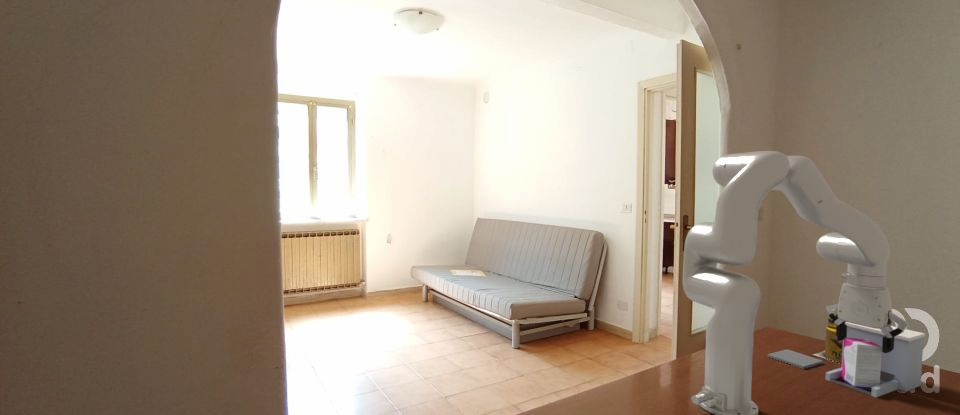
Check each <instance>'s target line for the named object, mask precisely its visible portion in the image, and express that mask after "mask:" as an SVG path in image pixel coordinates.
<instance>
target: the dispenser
mask: <svg viewBox="0 0 960 415" xmlns="http://www.w3.org/2000/svg"><path fill="white" fill-rule="evenodd" d="M845 324H846V326H847V338H854V339H866V340H869V341H871V342H873V343H875V344H877V345H880V346H882V341H883V337H885V335H884V333H883V332H882V331H881V330H880V329H876V328H871V327H867V326H862V325H858V324H854V323H850V322H845ZM890 326H891V327H892V328H893V330H895V329H896V328H897V327H898V326H895V325H890ZM925 337H926V333H924V332H920V331H915V330H911V329H907V328H906V329H905V330H904V332H903V333H901V334H899V335H897V336H895V337H894V349H893V350H892V351H891V352H888V353H883V352H882V356H881V371H880V385H878V386H875V387H873V388H872V390H870V392H871V396H870V397H873V398H879V397H882V396H884V395H886V394H889V393H891V392H892V393H893V392H894V391H897V390H900V391H903V392H909V391H910V390H914V389H915V388H918V387H920V386H921V385H922V368H923V367H922V366H923V355H924V354H923V352H924V351H923V350H924V339H925ZM843 351H844V340H843V346H842V364H840V366H841V367H838V368H835V369H832V370H829V371H826V372H825V379H824V380H825V381H828V382H830V379H834V380H838V379H840V378H842V365H843Z"/></svg>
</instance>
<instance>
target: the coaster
mask: <svg viewBox="0 0 960 415" xmlns="http://www.w3.org/2000/svg"><path fill="white" fill-rule="evenodd" d="M766 355H767V358H769V357H770V359H772V358H773V360H775V359H776V360H775V361H778V360H779V361H778V362H781V361H782V362H781V363H783V362H785V363H784V364H786V363H788V364H787V365H789V364H791V365H790V366H792V365H793V366H792V367H795V366H796V367H795V368H798V367H799V369H801V368H802V369H801V370H805V368H806V369H809V368H813V367H816V366H819V364H820V365H823V364H824V360H822V359H819V358H816V357H812V356H809V355H806V354H803V353H800V352H798V351H794V350H791V349H788V348H787V349H783V350H779V351H775V352H772V353H767V354H766Z"/></svg>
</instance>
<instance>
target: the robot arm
mask: <svg viewBox="0 0 960 415" xmlns="http://www.w3.org/2000/svg"><path fill="white" fill-rule="evenodd" d="M712 176H713V179H714V181H715V182H716V183H717V184H718V185H720V186H721V187H722V188H723V189H722V191H720V193H719V195H718V198H717V201H716V209H715V215H714V222H713V221H712V222H711V221H702V222H698V223H696V224H695V225H693V226H692V227H691V228H690V230H689V231H688V232H687V235H686V237H685V241H684V249H683V250H684V251H683V263H682V288H683V291H684V294H685V295H686V297H687V298H688V299H690V301H692V302H694V303H696V304H699V305H702V306H705V307H708V308H711V309H713V310H714V313H713V315H712V316H711V318H710V319H709V321H708V322H707V325H706V330H705V353H704V354H705V356H704V357H705V359H704V382H703V383H704V386H703V385H702V387H701V391H699V392H698V393H696V394H694V395H692V396H691V398H690V400H691V402H692V403H693V404H694V405H699V407H700V408H702V409H703V410H705V411H706V412H709V413H711V414H713V415H759V407H758V405H757V404H756V402H754V401H753V400H752V382H753V381H752V380H753V379H752V378H753V356H754V332H755V322H756V318H757V313H758V310H759V306H760V303H761V297H762V296H761V289H760V286H759V285H758V283H757V281H755V280H754V279H753V278H751V277H749V276H748V275H746V274H743V273H740V272H737V271H732V270H727V269H724V268H718V264H721V265H725V266H732V267H744V266H748V265H750V264H751V263H752V262H753V260H754V257H755V255H756V249H757V247H756V246H757V236H758V235H757V234H758V224H759V222H758V221H759V220H758V219H759V213H760V212H759V211H760V208H761V205H762V202H763V201H764V199H765V197H766V196H767V195H768V194H769V193H770V192H771V191H780V192H782V193H783V194H784V196H785V197H786V198H787V200H788V202H789V203H790V204H791V205H792V207H793V208H794V210H795V212H796V213H797V215H798V216H799V217H800V218H802V219H803V220H804V221H806V222H808V223H810V224H814V225H816V226H818V227H821V228H823V229H827V230H829V231H832V232H827V233H826V234H823V235H822V236H820V237H819V238H818V240H817V241H816V244H815V248H816V249H815V250H816V252H817V254H818V255H819V256H820V257H821V258H822V259H824V260H826V261H830V262H834V263H840V264H847V270H846V272H841V278H842V279H845V282H843V283H842V285H841V289H840V292H839V293H840V294H839V298H838V303H836V304H831V305H826V306H825V310H826V311H827V313H828V316H829V318H831V319H832V320H833V321H834V324H835V325H836V336H837V340H839V341H842V340H844V338H847V326H846V324H845V322H850V323H854V324H858V325H862V326H867V327H871V328H876V329H880V330H881V331H882V332H883V333H884V335H885V337H883V341H882V352H883V353H888V352H891V351H892V350H893V349H894V337H895V336H897V335H899V334H901V333H903V332H904V330H905V329H907V328H908V327H909V326H910V323H909V322H908V321H906V320H905V319H903V318H902V317H900V316H899V315H897V314H895V313H893V306H892V298H891V293H890V289H889V287H886V285H887V284H886V282H887V281H886V279H887V262H888V261H889V259H890V255H891V251H890V250H891V249H890V245H889V242H888V239H887V236H886V235H885V234H884V233H883V232H882V230H881V228H880V227H879V226H878V224H877V223H876V222H875V221H874V220H873V219H871V218H870V217H868V216H867V215H866V214H864V213H863V212H862V211H859V210H857V209H856V208H855V207H853V206H851V205H849V204H848V203H845V202H844V201H842V200H840V199H838V198H837V196H836V195H835V193H834V192H833V190H832V188H831V187H830V185H829V184H828V182H827V180H826V179H825V178H824V176H823V174H822V173H821V172H820V170H819V169H818V167H817V166H816V165H815V163H814V161H813V160H811V158H809V157H806V156H804V155H786V154H785V153H783V152H780V151H777V150H760V151H759V150H757V151H747V152H739V153H738V152H736V153H727V154H724V155H722V156H720V157H719V158H717V160H716V161H715V162H714V164H713V166H712ZM836 310H837V313H836ZM893 322H894V323H896V324H897V326H896V327H897V328H896V329H895V330H893V328H892V327H891V326H892V323H893Z"/></svg>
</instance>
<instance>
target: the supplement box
mask: <svg viewBox="0 0 960 415" xmlns="http://www.w3.org/2000/svg"><path fill="white" fill-rule="evenodd" d="M881 356H882V346H880V345H877V344H875V343H873V342H871V341H869V340H866V339H854V338H844V351H843V365H842V364H841V365H842V377H841V380H842V381H844V383H845V384H848V385H851V386H854V387H857V388H860V389H863V390H870V391H872V388H873V387H875V386H878V385H881V383H880V371H881Z"/></svg>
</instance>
